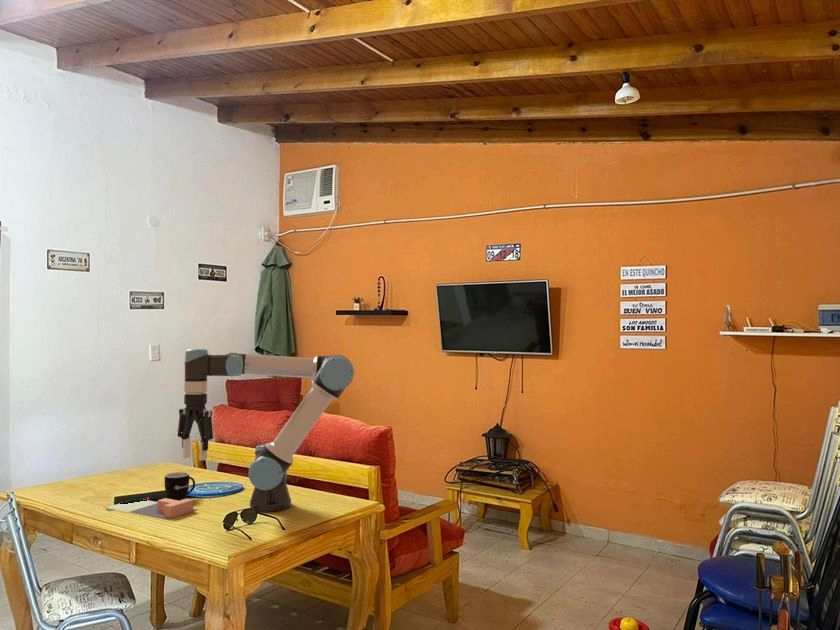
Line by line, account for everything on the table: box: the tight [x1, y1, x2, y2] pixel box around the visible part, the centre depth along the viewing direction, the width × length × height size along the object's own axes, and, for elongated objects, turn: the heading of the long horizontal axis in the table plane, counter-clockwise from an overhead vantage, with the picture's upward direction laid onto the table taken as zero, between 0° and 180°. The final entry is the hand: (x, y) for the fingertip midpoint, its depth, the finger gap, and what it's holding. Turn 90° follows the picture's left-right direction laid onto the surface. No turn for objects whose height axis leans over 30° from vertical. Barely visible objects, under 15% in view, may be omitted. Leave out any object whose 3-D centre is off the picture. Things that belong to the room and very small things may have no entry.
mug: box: [164, 471, 196, 501], centre depth 249 cm, size 12×9×10 cm
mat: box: [105, 499, 198, 521], centre depth 235 cm, size 32×14×1 cm, turn 63°
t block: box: [156, 497, 194, 519], centre depth 230 cm, size 10×10×4 cm
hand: (194, 458), depth 225 cm, fingers open, 7 cm apart
